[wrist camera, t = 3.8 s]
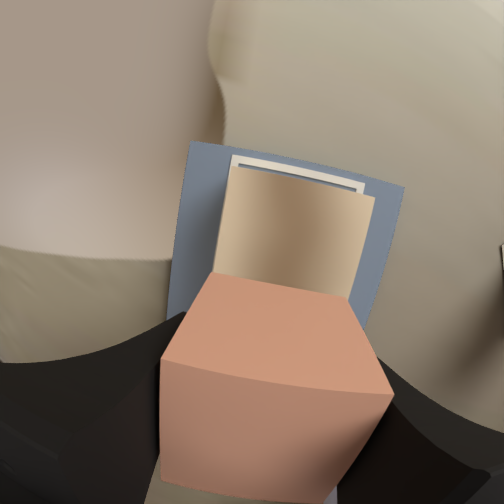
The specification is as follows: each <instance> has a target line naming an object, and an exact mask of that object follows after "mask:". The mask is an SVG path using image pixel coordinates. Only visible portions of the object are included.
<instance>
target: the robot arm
mask: <svg viewBox="0 0 504 504" xmlns="http://www.w3.org/2000/svg"><path fill="white" fill-rule="evenodd" d="M186 314H187V312H184V311H183V312H181V313H179V314H177V315H175V316H173V317H172V318H170V319H168V320H167V321H165V322H163V323H161V324H159V325H157V326H156V327H154V328H152V329H150V330H148V331H146V332H144V333H142V334H140V335H138V336H136V337H133V338H131V339H129V340H127V341H125V342H122V343H120V344H117V345H115V346H112V347H109V348H106V349H103V350H100V351H97V352H93V353H90V354H86V355H81V356H76V357H71V358H67V359H62V360H55V361H47V362H36V363H0V504H144V501H145V498H146V494H147V491H148V488H149V484H150V481H151V478H152V475H153V471H154V468H155V465H156V462H157V459H158V456H159V453H160V363H161V357H162V355H163V354H164V352H165V350H166V348H167V347H168V345H169V343H170V341H171V340H172V338H173V336H174V334H175V333H176V331H177V329H178V328H179V326H180V324H181V322H182V321H183V319H184V317H185V315H186ZM376 357H377V356H376ZM377 359H378V361H379V363H380V365H381V367H382V369H383V371H384V373H385V375H386V378H387V380H388V382H389V384H390V386H391V388H392V390H393V392H394V396H393V398H392V400H391V402H390V404H389V405H388V407H387V409H386V411H385V412H384V414H383V416H382V418H381V419H380V421H379V423H378V424H377V426H376V428H375V429H374V431H373V433H372V434H371V436H370V437H369V439H368V441H367V442H366V444H365V445H364V447H363V448H362V450H361V451H360V453H359V454H358V456H357V457H356V459H355V460H354V462H353V463H352V465H351V466H350V468H349V469H348V470H347V472H346V473H345V474H344V476H343V477H342V479H341V480H340V481H339V483H338V484H337V485H336V487H335V488H334V489H333V491H332V492H331V493H330V494H329V496H328V497H327V498H326V499H325V501H324V502H323V503H324V504H504V433H502V432H498V431H495V430H493V429H490V428H487V427H484V426H481V425H479V424H476V423H474V422H472V421H469V420H467V419H465V418H463V417H461V416H459V415H457V414H455V413H453V412H451V411H449V410H448V409H446V408H444V407H442V406H441V405H439V404H438V403H436V402H434V401H433V400H431V399H429V398H428V397H427V396H425V395H424V394H422V393H421V392H419V391H418V390H417V389H415V388H414V387H413V386H411V385H410V384H409V383H408V382H406V381H405V380H404V379H403V378H401V377H400V376H399V375H398V374H397V373H395V372H394V371H393V370H392V369H391V368H389V367H388V366H387V365H386V364H385V363H384V362H383V361H381V360H380V359H379V358H378V357H377Z"/></svg>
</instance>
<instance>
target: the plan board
mask: <svg viewBox="0 0 504 504" xmlns="http://www.w3.org/2000/svg"><path fill="white" fill-rule="evenodd" d="M231 166H236V167H242V168H247V169H252V170H258V171H263V172H268V173H273V174H278V175H283V176H288V177H292V178H297V179H302V180H306V181H311V182H315V183H319V184H324V185H328V186H332V187H336V188H340V189H345V190H349V191H352V192H356V193H360V194H364V195H368V196H371V197H375V202H374V206H373V210H372V215H371V219H370V223H369V227H368V231H367V235H366V239H365V243H364V246H363V250H362V254H361V258H360V261H359V265H358V268H357V272H356V275H355V279H354V282H353V285H352V289H351V292H350V295H349V298H348V302H349V304H350V306H351V308H352V310H353V312H354V314H355V316H356V318H357V320H358V321H359V323H360V325H361V327H362V329H363V330H364V328H365V325H366V322H367V319H368V317H369V314H370V311H371V308H372V305H373V302H374V299H375V296H376V293H377V290H378V287H379V283H380V280H381V277H382V274H383V270H384V267H385V264H386V260H387V257H388V253H389V250H390V246H391V242H392V239H393V235H394V231H395V227H396V223H397V219H398V215H399V211H400V206H401V202H402V197H403V193H404V188H405V187H402V186H398V185H395V184H392V183H388V182H385V181H382V180H378V179H375V178H371V177H367V176H364V175H360V174H356V173H352V172H349V171H345V170H341V169H337V168H333V167H329V166H324V165H320V164H316V163H312V162H307V161H303V160H298V159H294V158H289V157H284V156H279V155H274V154H269V153H264V152H258V151H253V150H247V149H242V148H236V147H230V146H224V145H217V144H210V143H204V142H196V141H191V142H190V146H189V151H188V157H187V163H186V168H185V175H184V180H183V186H182V193H181V199H180V206H179V213H178V219H177V227H176V234H175V242H174V250H173V258H172V267H171V276H170V286H169V296H168V307H167V318H166V321H167V320H168V319H170V318H172V317H173V316H175V315H177V314H179V313H181V312H183V311H184V312H188V310H189V309H190V307H191V305H192V303H193V302H194V300H195V298H196V297H197V295H198V293H199V292H200V290H201V288H202V286H203V285H204V283H205V281H206V280H207V278H208V276H209V275H210V273H211V272H213V270H214V263H215V257H216V251H217V245H218V239H219V233H220V227H221V221H222V216H223V210H224V204H225V199H226V193H227V188H228V182H229V177H230V171H231Z"/></svg>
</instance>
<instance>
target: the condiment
mask: <svg viewBox="0 0 504 504" xmlns="http://www.w3.org/2000/svg"><path fill="white" fill-rule="evenodd" d="M502 252H503V268H504V244H503V245H502Z"/></svg>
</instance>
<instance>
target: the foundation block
mask: <svg viewBox="0 0 504 504" xmlns="http://www.w3.org/2000/svg"><path fill="white" fill-rule="evenodd" d="M374 202H375V197H371V196H368V195H364V194H360V193H356V192H352V191H349V190H345V189H340V188H336V187H332V186H328V185H324V184H319V183H315V182H311V181H306V180H302V179H297V178H292V177H288V176H283V175H278V174H273V173H268V172H263V171H258V170H252V169H247V168H242V167H236V166H231V171H230V177H229V182H228V188H227V193H226V199H225V204H224V210H223V216H222V221H221V227H220V233H219V239H218V245H217V251H216V257H215V263H214V270H213V272H215V273H220V274H225V275H230V276H235V277H240V278H245V279H250V280H255V281H260V282H265V283H271V284H276V285H281V286H286V287H292V288H297V289H302V290H308V291H313V292H319V293H324V294H330V295H336V296H341V297H346V299H347V301H348V298H349V295H350V292H351V289H352V285H353V282H354V279H355V275H356V272H357V268H358V265H359V261H360V258H361V254H362V250H363V246H364V243H365V239H366V235H367V231H368V227H369V223H370V219H371V215H372V210H373V206H374Z"/></svg>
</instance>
